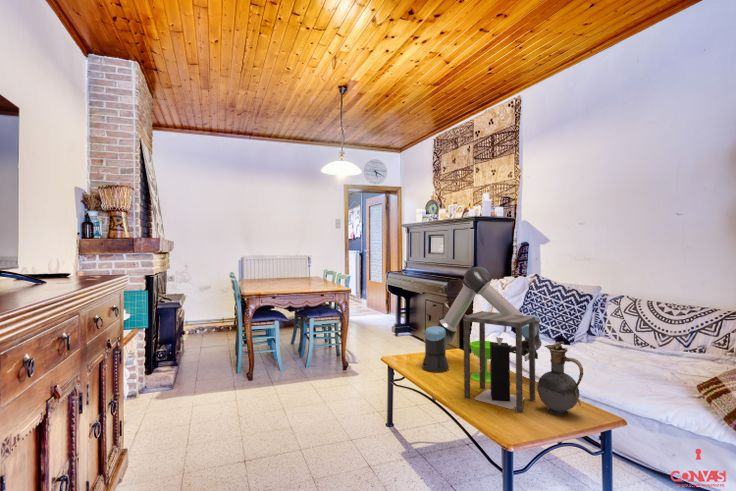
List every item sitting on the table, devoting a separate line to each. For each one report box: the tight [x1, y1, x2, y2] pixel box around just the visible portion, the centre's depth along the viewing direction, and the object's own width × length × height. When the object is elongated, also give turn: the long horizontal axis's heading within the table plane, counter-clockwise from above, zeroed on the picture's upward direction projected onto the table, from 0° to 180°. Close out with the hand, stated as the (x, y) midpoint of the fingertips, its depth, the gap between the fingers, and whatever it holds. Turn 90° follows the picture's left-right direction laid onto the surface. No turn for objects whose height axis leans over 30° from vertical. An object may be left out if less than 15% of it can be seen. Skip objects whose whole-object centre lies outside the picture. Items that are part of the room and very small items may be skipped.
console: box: [462, 310, 536, 414], centre depth 180 cm, size 26×20×38 cm
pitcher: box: [536, 341, 584, 417], centre depth 164 cm, size 11×19×30 cm, turn 27°
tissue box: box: [489, 336, 511, 401], centre depth 180 cm, size 8×8×28 cm
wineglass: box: [470, 340, 492, 384], centre depth 210 cm, size 16×16×18 cm
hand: (511, 356), depth 191 cm, fingers open, 13 cm apart
